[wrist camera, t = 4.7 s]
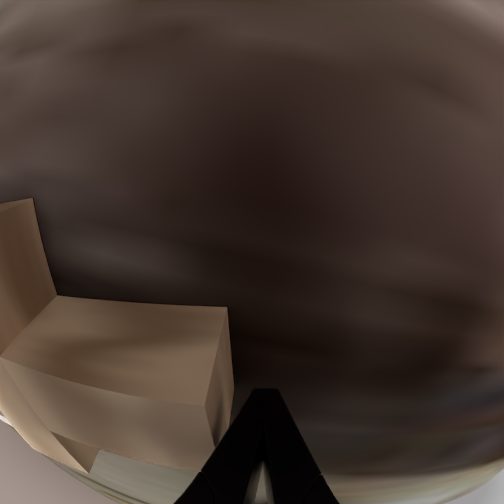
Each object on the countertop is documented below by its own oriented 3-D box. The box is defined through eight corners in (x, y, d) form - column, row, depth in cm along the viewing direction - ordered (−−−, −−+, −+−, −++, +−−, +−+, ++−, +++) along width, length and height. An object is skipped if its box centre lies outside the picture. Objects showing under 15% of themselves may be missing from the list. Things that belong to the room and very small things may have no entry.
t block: (219, 181, 8) (174, 229, 4) (239, 436, 13) (231, 505, 9) (-20, 207, 9) (-84, 241, 5) (60, 401, 13) (33, 448, 10)
